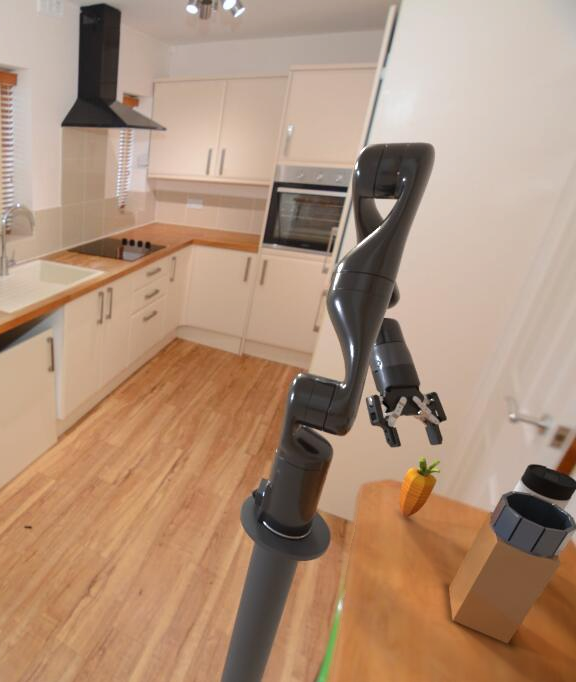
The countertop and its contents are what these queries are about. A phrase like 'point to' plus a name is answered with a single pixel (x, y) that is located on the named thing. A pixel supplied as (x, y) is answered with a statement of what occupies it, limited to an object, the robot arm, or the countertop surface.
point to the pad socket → (509, 564)
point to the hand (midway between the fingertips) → (416, 445)
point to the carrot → (417, 487)
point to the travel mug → (547, 484)
